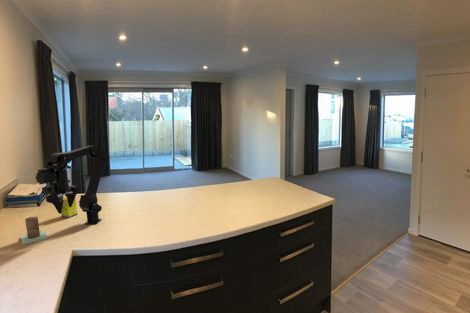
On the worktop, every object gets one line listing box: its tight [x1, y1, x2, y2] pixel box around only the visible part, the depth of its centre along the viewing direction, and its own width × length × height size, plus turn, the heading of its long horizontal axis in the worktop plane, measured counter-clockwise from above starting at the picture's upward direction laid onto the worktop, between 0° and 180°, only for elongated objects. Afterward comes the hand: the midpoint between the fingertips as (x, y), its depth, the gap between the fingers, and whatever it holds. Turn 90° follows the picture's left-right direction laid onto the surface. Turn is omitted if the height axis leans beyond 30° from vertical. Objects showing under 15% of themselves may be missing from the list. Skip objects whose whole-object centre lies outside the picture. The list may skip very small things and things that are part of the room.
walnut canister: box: [24, 216, 40, 239], centre depth 148 cm, size 5×5×9 cm
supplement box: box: [60, 196, 78, 219], centre depth 178 cm, size 6×6×11 cm
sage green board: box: [20, 230, 48, 246], centre depth 149 cm, size 10×10×1 cm
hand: (65, 210), depth 152 cm, fingers open, 9 cm apart
